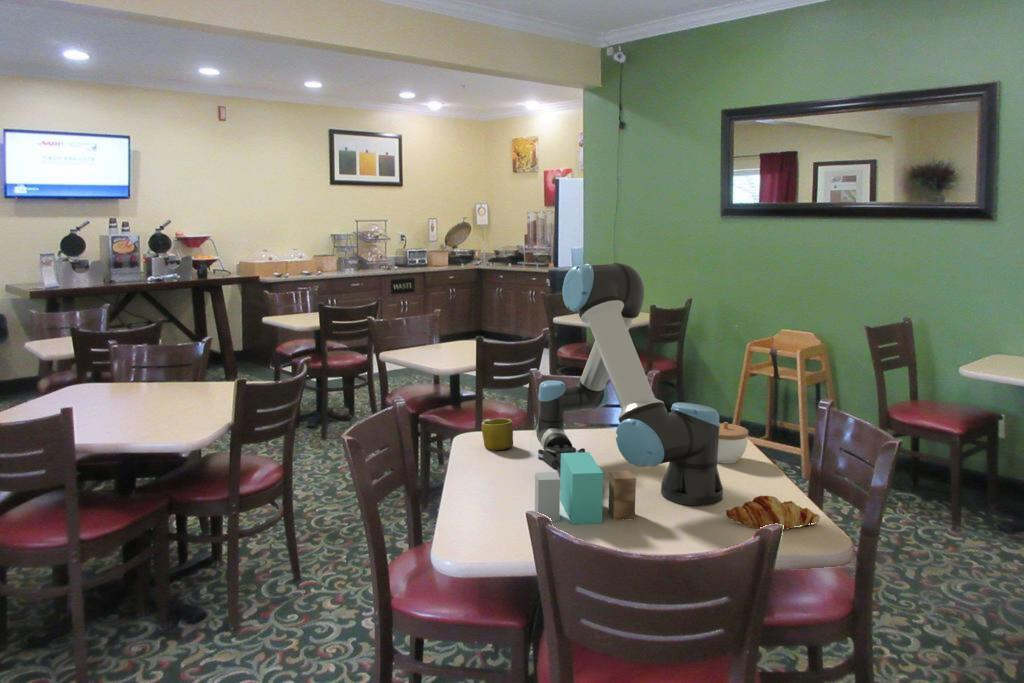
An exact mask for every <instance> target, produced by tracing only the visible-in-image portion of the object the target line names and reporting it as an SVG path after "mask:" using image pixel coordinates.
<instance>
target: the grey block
mask: <svg viewBox="0 0 1024 683" xmlns="http://www.w3.org/2000/svg"><path fill="white" fill-rule="evenodd" d="M534 473H535V474H534V512H535V511H536V512H539V513H541V514H544V515H546V516H548V517H549V518H551V520H552V521H551V522H559V521H560V512H561V510H560V508H561V506H560V505H561V501H560V476H559V474H558V472H556V471H552V472H551V471H548V472H545V471H544V472H534Z"/></svg>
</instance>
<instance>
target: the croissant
mask: <svg viewBox="0 0 1024 683" xmlns="http://www.w3.org/2000/svg"><path fill="white" fill-rule="evenodd" d="M725 516H726V517H727V518H728V519H730V520H732V521H734V522H736V523H739V524H741V525H743V526H745V527H748V528H754V529H760V527H763V526H765V525H769V524H775V523H778V524H782V525H784V529H787V528H791V527H794V526H800V525H805V524H809V523H810V524H811V523H815V522H817V523H819V522H820V519H821V516H820V515H819V514H818V513H815V512H814V511H812V510H811V509H809V508H808V507H805V508H804V507H803V508H802V506H800V505H797V504H796V503H795V502H793V501H792V500H788V501H783V502H782V501H781V500H780V499H778V498H777V497H776V496H773V495H772V496H771V495H758V496H756V497H753V500H751V501H746V502H744V503H743V505H742V506H741V505H739V506H737V505H736V506H734V507H733V508H730V509H726V510H725ZM815 524H816V523H815ZM805 526H806V525H805ZM794 528H795V527H794ZM787 530H788V529H787Z"/></svg>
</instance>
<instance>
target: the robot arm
mask: <svg viewBox="0 0 1024 683" xmlns="http://www.w3.org/2000/svg"><path fill="white" fill-rule="evenodd" d="M563 279H564V280H563V285H562V289H561V291H562V294H561V295H562V299H563V302H564V303H563V304H564V305H565V307H566V308H567V310H569V311H572V312H574V313H575V312H577V313H578V316H579V318H580V321H581V323H583V324H586V325H588V326H589V329H590V330H591V334H592V336H593V338H594V342H593V346H592V348H591V350H590V353H589V356H588V359H587V361H586V364H585V366H584V369H583V372H582V374H581V376H580V378H579V380H578V383H577V384H575V385H568V386H567V385H566V384H565V382H563V381H561V380H553V379H552V380H544V381H541V383H539V387H538V397H537V399H538V419H537V425H536V428H535V434H536V435H535V436H536V438H537V440H538V442H539V443H540V446H541V447H542V449H538V451H537V453H538V454H537V455H538V456H537V460H540V461H542V462H544V463H545V464H546V465H547V466H549V467H550V468H551V469H552V470H555V471H556V470H558V469H559V470H560V471H559V472H560V473H561V453H582V452H586V448H579V449H576V447H575V446H573V444H572V442H571V440H570V439H569V437H568V435H567V434H566V432H565V415H566V413H567V414H568V413H572V412H573V413H574V412H578V411H586V410H595V409H598V408H602V407H604V406H605V405H606V404H607V403H608V401H609V395H610V394H609V388H608V387H607V385H606V384H607V382H608V380H610V383H611V386H612V389H613V391H614V393H615V396H616V398H617V402H618V403H619V406H620V409H621V411H620V414H619V416H618V422H619V424H618V425H617V428H616V430H615V431H616V432H615V434H616V437H615V442H616V445H617V448H618V451H619V452H620V454H621V455H622V457H623V458H624V460H626V461H627V462H628V463H629V464H631V465H633V466H634V467H638V468H645V467H656V466H659V465H661V464H665V463H666V464H667V463H668V466H667V469H666V471H665V474H664V477H663V479H662V481H661V484H660V485H661V486H660V494H661V495H662V497H663V498H664V499H666V500H668V501H671V502H672V503H673V502H674V503H677V504H681V505H684V506H685V505H686V506H695V507H696V506H698V507H701V506H711V505H715V504H719V503H720V502H722V500H723V498H724V497H723V496H724V487H723V484H722V479H721V478H720V476H721V475H720V473H719V471H718V462H717V458H718V442H719V427H720V425H719V423H720V413H719V411H717V410H716V409H715V408H713V407H710V406H707V405H703V404H697V403H693V402H692V403H691V402H674V403H672V405H671V407H670V411H669V412H668V410H667V407H666V405H665V403H664V401H663V400H660V399H658V398H656V396H655V394H654V392H653V389H652V387H651V385H650V383H649V382H650V381H649V380H648V377H647V374H646V372H645V368H644V367H643V365H642V362H641V360H640V357H639V355H638V352H637V350H636V347H635V345H634V343H633V339H632V337H631V335H630V332H629V330H630V328H631V325H632V322H633V320H634V319H637V318H638V317H639V315H640V313H641V311H642V307H643V305H644V301H645V300H644V299H645V285H644V281H643V278H642V277H641V274H640V273H639V272H638V271H637V270H636V269H635V268H634V267H632V266H631V265H628V264H626V263H622V262H613V263H596V264H595V263H594V264H590V263H585V264H579V265H574V266H573V267H571V268H570V269H568V271H567V273H566V274H565V276H564V278H563Z"/></svg>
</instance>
